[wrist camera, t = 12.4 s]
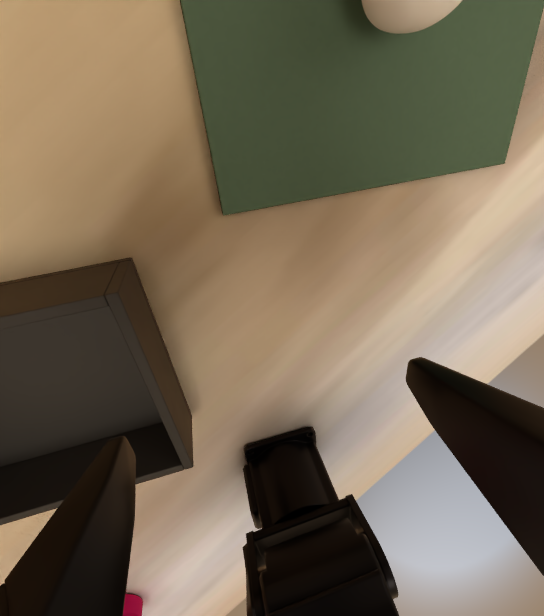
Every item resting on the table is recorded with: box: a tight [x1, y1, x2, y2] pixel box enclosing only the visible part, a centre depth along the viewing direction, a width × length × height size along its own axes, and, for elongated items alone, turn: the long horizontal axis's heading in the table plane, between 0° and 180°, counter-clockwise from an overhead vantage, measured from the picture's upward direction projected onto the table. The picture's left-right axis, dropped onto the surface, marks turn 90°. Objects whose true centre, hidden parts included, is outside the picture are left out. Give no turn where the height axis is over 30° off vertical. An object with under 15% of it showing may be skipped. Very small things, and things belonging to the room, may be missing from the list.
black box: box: [0, 258, 193, 525], centre depth 18 cm, size 15×13×4 cm
